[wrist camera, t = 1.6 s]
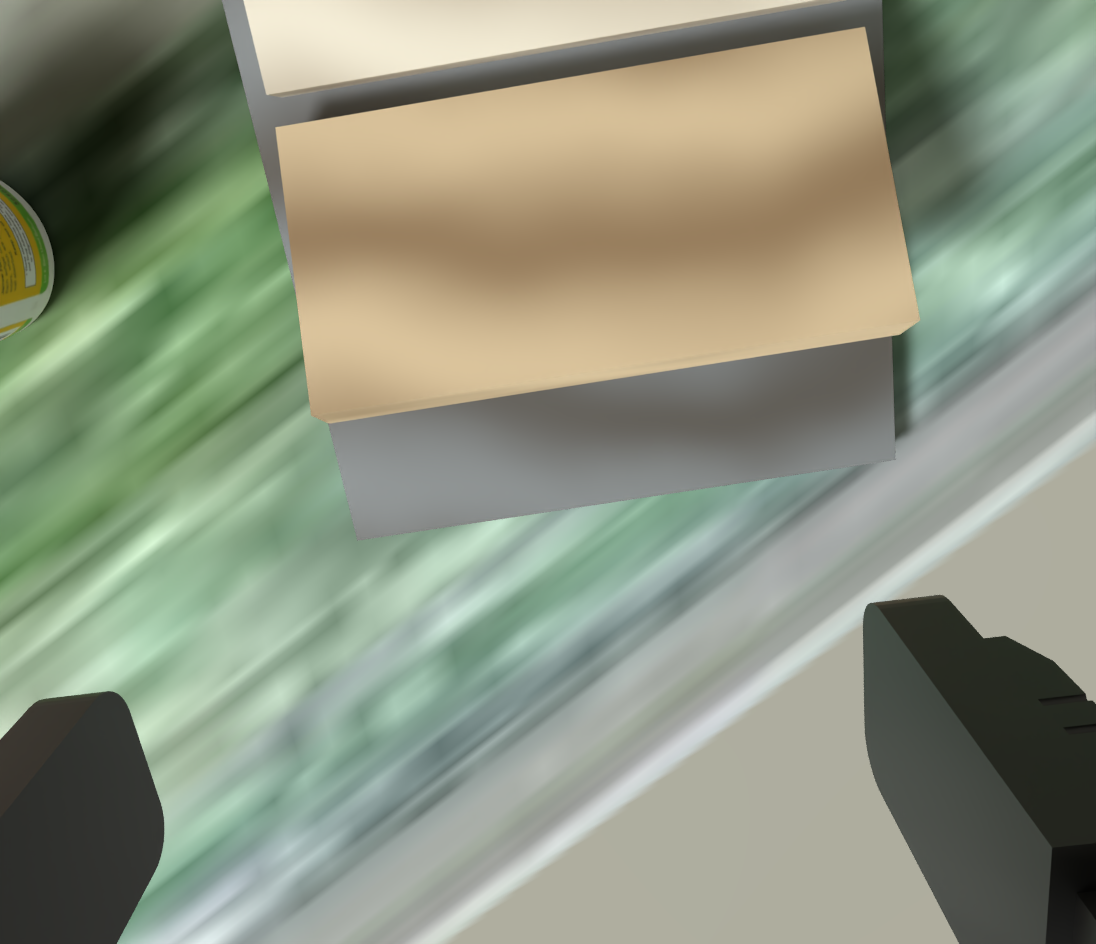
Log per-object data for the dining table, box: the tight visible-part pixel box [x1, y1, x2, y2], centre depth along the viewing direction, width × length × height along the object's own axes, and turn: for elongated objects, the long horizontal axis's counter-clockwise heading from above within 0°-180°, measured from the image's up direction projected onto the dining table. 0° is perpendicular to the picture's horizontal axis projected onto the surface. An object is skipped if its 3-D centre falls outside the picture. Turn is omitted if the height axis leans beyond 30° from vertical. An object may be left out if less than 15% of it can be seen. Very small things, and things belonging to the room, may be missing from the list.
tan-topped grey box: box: [222, 0, 896, 540], centre depth 26 cm, size 22×18×3 cm
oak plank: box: [275, 27, 920, 424], centre depth 25 cm, size 8×16×2 cm, turn 99°
